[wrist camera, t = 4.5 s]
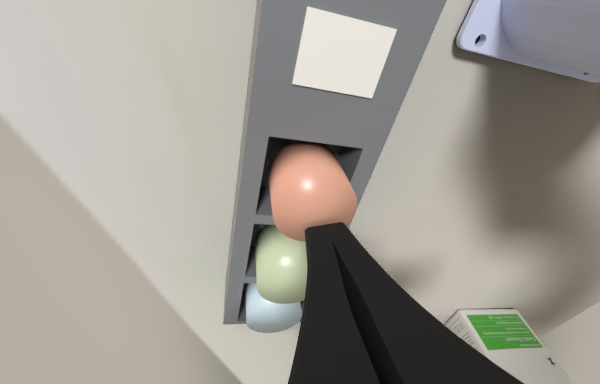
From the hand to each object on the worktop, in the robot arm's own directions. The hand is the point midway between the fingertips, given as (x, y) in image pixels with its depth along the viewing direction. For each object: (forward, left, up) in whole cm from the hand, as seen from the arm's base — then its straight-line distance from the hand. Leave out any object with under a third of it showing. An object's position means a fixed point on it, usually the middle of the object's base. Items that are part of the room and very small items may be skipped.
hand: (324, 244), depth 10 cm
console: (0, +2, -7) cm, 7 cm away
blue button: (0, +10, -6) cm, 11 cm away
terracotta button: (0, 0, -5) cm, 5 cm away
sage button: (0, +5, -5) cm, 7 cm away
